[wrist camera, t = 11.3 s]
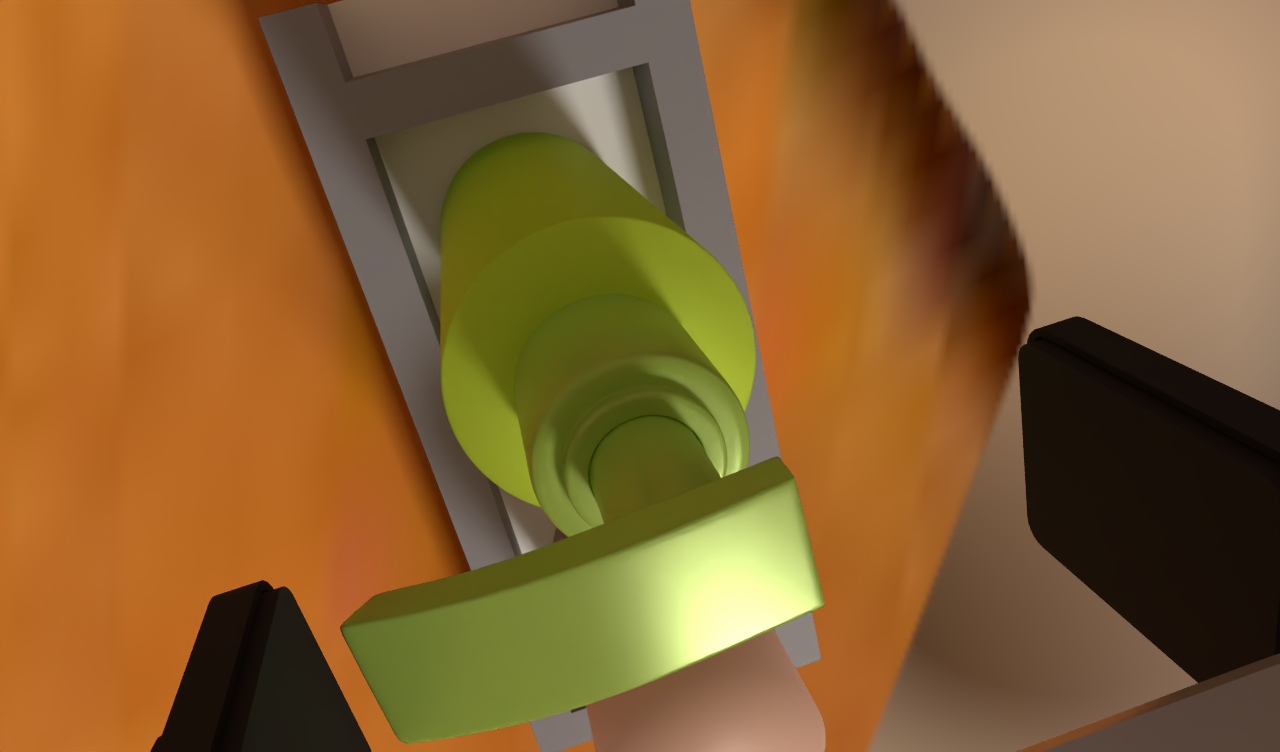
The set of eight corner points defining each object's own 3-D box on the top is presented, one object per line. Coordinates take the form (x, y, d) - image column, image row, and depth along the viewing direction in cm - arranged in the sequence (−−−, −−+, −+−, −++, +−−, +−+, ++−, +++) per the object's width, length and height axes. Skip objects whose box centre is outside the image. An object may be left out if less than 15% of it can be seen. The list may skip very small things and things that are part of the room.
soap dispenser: (378, 176, 27) (246, 499, 9) (596, 107, 27) (905, 273, 9) (447, 350, 29) (458, 890, 11) (647, 283, 30) (971, 692, 12)
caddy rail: (279, 18, 26) (164, 14, 15) (644, -76, 27) (786, -144, 16) (533, 692, 36) (575, 982, 25) (788, 604, 37) (933, 846, 26)
